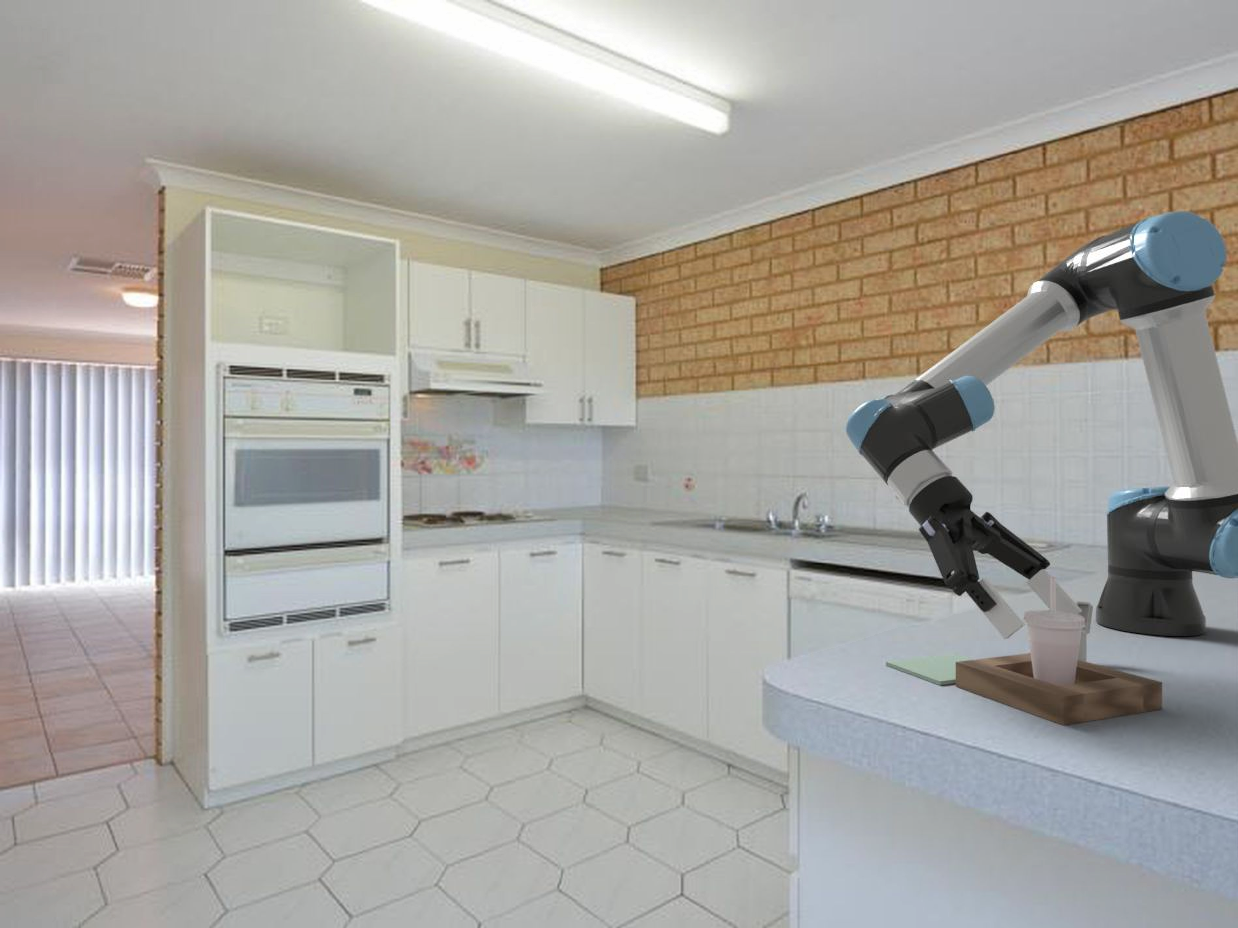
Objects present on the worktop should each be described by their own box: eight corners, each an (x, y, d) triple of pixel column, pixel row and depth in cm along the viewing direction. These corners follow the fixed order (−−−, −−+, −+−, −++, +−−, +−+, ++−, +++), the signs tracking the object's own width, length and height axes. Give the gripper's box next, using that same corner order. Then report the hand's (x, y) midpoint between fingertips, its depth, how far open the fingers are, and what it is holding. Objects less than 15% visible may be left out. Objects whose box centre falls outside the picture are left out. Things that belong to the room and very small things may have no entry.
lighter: (1077, 667, 104) (1077, 608, 104) (1063, 665, 105) (1063, 606, 105) (1093, 658, 109) (1093, 601, 109) (1079, 656, 110) (1079, 600, 110)
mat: (955, 657, 109) (955, 653, 109) (1013, 675, 100) (1013, 671, 100) (885, 665, 105) (885, 661, 105) (940, 685, 96) (940, 681, 96)
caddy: (1046, 674, 101) (1046, 651, 101) (1162, 708, 87) (1162, 682, 87) (955, 686, 95) (955, 661, 95) (1063, 725, 81) (1063, 696, 81)
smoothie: (1078, 691, 93) (1078, 575, 93) (1091, 708, 87) (1092, 583, 87) (1019, 686, 95) (1019, 573, 95) (1028, 702, 89) (1028, 581, 89)
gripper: (964, 508, 113) (1072, 629, 100) (854, 514, 98) (964, 657, 86) (1000, 472, 108) (1117, 594, 96) (890, 474, 94) (1011, 618, 82)
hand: (1045, 624), depth 91 cm, fingers open, 13 cm apart
